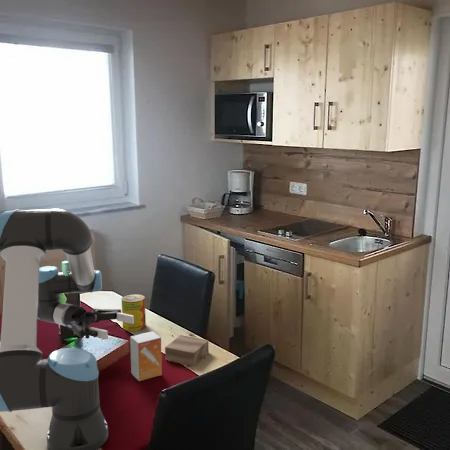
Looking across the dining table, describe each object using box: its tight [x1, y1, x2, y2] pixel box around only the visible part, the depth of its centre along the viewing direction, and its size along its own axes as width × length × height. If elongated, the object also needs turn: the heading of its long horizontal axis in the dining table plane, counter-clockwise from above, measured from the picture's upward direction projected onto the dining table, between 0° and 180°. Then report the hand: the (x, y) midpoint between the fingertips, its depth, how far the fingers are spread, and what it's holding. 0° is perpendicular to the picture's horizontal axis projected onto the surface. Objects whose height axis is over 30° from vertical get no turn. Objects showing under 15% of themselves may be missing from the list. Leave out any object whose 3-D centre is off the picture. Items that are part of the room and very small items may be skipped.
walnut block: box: [164, 334, 210, 367], centre depth 179 cm, size 11×11×5 cm
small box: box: [129, 330, 163, 382], centre depth 165 cm, size 8×6×13 cm
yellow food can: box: [121, 293, 147, 332], centre depth 203 cm, size 9×9×12 cm
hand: (120, 327), depth 168 cm, fingers open, 13 cm apart
